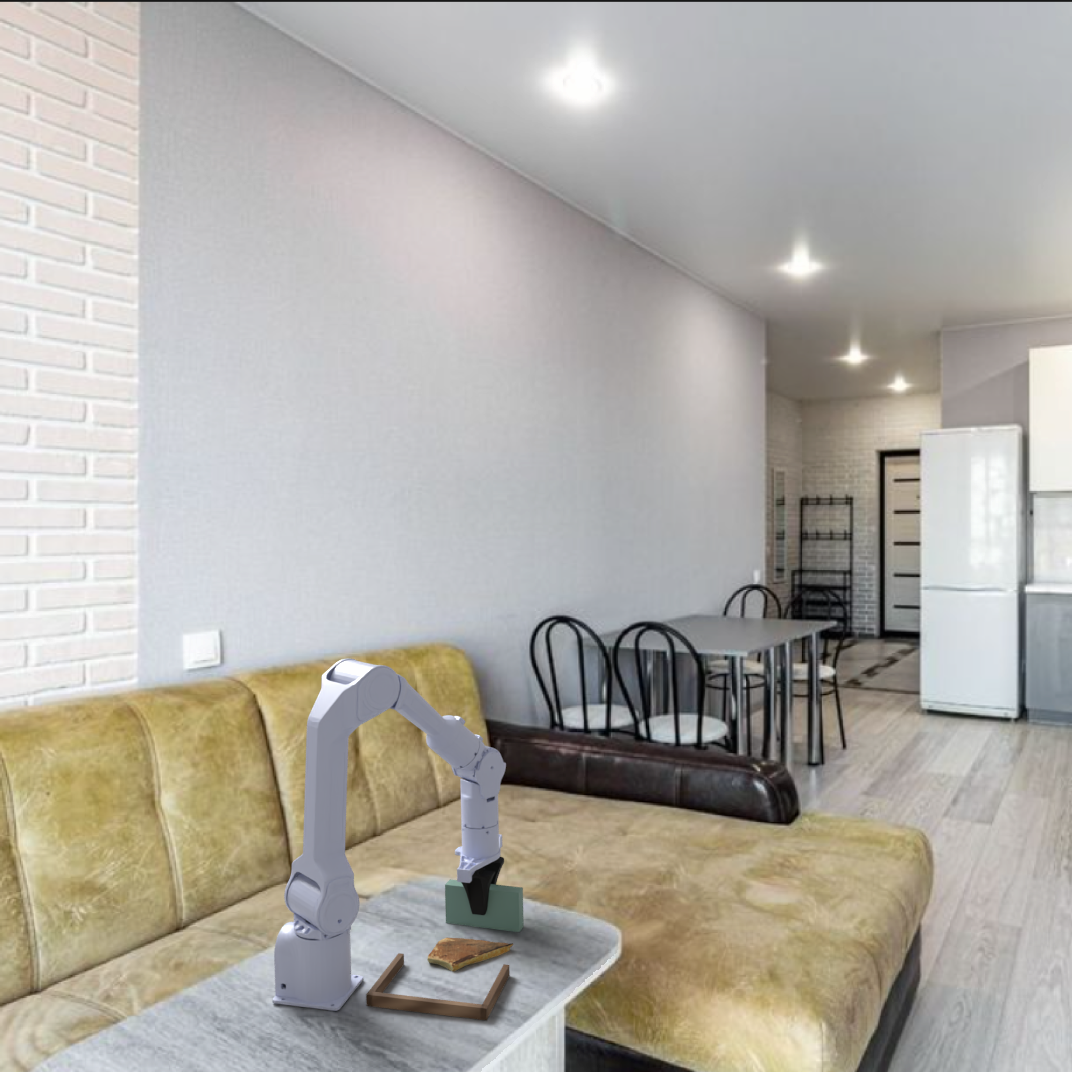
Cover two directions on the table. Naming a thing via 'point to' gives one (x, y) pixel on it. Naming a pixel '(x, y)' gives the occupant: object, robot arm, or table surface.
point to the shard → (465, 952)
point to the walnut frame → (432, 1005)
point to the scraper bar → (500, 910)
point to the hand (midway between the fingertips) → (482, 910)
